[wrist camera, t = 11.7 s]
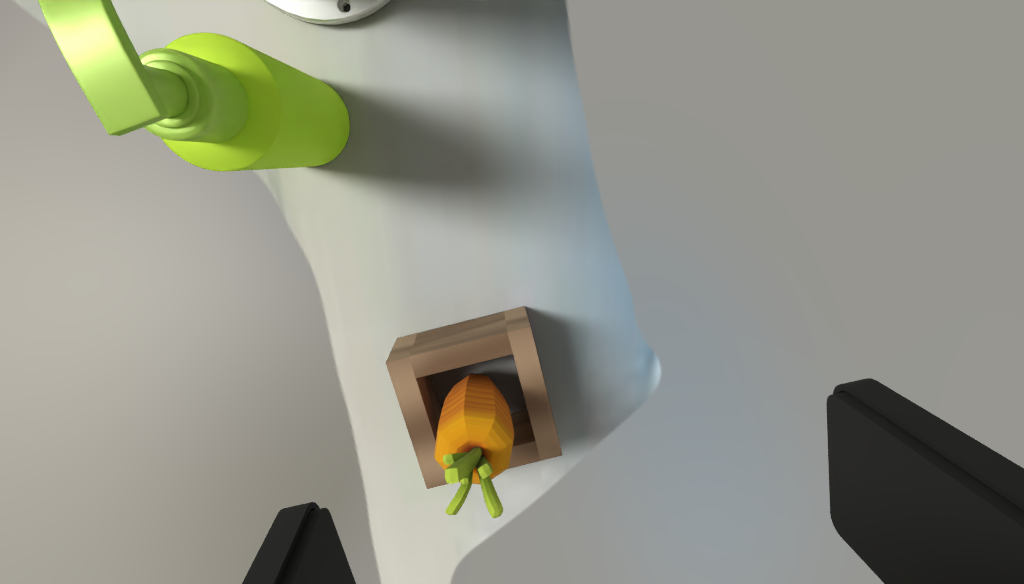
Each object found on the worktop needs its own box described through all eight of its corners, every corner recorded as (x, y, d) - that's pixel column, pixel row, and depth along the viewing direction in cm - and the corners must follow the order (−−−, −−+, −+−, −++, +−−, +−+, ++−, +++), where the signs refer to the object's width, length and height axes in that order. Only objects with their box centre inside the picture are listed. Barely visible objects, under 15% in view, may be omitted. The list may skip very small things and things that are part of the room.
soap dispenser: (322, 48, 35) (130, -84, 16) (363, 149, 37) (236, 141, 18) (239, 78, 36) (-48, -16, 16) (285, 178, 37) (74, 201, 18)
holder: (397, 338, 41) (385, 362, 36) (524, 306, 41) (530, 326, 36) (433, 451, 43) (427, 488, 38) (553, 421, 43) (562, 455, 38)
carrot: (514, 400, 42) (530, 524, 28) (453, 414, 42) (438, 546, 28) (499, 342, 41) (508, 441, 27) (437, 357, 41) (411, 464, 27)
